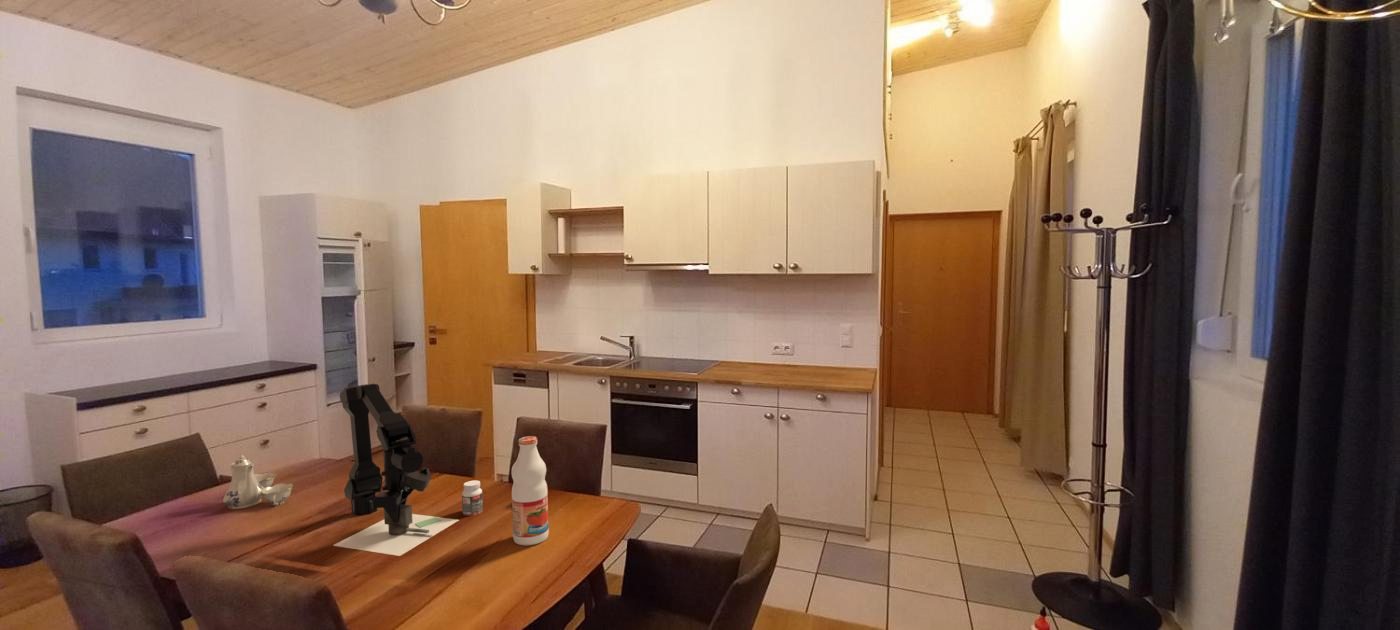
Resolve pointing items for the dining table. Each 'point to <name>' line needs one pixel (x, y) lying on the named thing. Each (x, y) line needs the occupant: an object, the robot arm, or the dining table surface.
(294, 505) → the dining table surface
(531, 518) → the fruit juice
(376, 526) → the dial plate
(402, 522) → the dark grey angled piece
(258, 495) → the chinaware
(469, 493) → the pill bottle
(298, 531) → the dining table surface
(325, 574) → the dining table surface
